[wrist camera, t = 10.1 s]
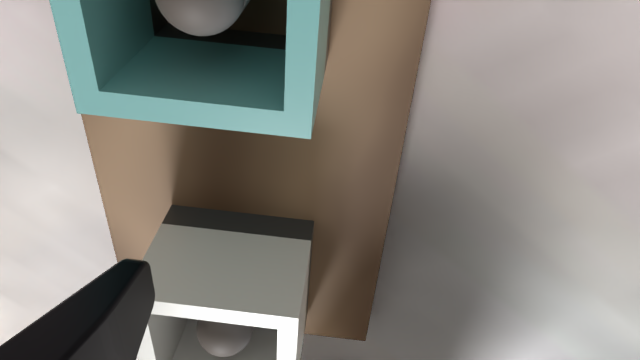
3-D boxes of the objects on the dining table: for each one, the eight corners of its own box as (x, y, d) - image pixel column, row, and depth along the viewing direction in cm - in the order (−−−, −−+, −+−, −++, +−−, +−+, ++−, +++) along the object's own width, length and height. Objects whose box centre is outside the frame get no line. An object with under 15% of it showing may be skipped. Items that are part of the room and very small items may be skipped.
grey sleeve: (314, 220, 21) (298, 318, 17) (307, 314, 24) (292, 413, 20) (171, 204, 21) (122, 297, 17) (184, 299, 25) (146, 395, 21)
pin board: (465, -219, 13) (515, -236, 8) (365, 316, 26) (362, 432, 21) (24, -253, 14) (-174, -289, 9) (141, 289, 27) (87, 396, 22)
